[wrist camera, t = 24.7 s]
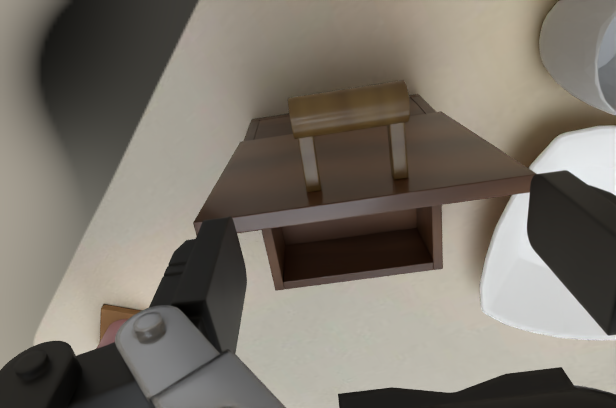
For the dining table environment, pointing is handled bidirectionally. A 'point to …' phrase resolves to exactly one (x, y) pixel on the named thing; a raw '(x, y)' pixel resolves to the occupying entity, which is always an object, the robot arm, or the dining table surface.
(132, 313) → the cork mat
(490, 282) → the bowl
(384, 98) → the lid
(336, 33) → the dining table surface
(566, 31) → the mug
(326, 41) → the dining table surface
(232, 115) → the dining table surface
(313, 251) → the chest
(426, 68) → the dining table surface
